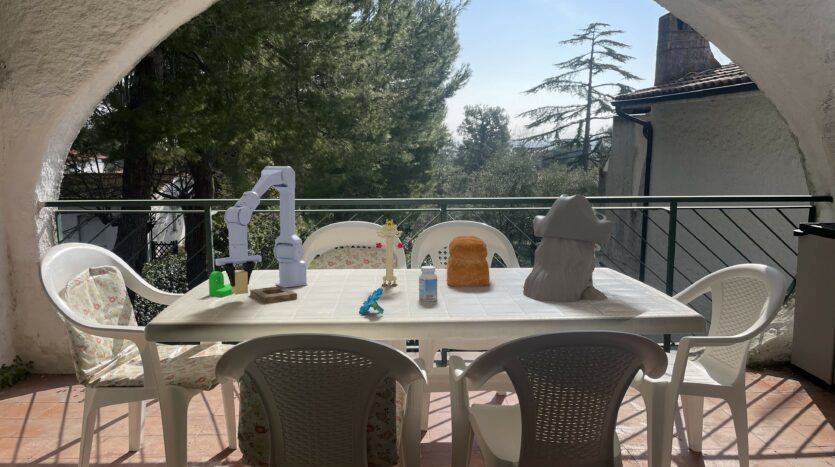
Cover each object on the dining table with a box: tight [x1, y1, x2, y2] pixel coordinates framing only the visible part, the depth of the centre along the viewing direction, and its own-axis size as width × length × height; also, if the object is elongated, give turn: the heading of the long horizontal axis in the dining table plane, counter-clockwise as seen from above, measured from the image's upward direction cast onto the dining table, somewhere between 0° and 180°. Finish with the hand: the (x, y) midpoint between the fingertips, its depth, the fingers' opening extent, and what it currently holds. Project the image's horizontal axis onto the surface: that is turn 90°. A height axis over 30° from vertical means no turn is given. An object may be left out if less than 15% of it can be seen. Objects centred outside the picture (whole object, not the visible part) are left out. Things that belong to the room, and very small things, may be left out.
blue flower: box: [358, 286, 385, 315], centre depth 180 cm, size 11×6×10 cm
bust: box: [522, 193, 615, 303], centre depth 204 cm, size 34×34×35 cm
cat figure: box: [375, 218, 404, 287], centre depth 220 cm, size 10×9×25 cm
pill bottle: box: [418, 265, 438, 302], centre depth 197 cm, size 6×6×11 cm
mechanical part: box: [208, 270, 234, 298], centre depth 207 cm, size 12×6×8 cm, turn 162°
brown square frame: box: [249, 285, 298, 304], centre depth 200 cm, size 11×14×2 cm
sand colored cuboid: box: [232, 269, 249, 296], centre depth 194 cm, size 4×4×7 cm
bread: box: [446, 235, 490, 288], centre depth 228 cm, size 16×26×17 cm, turn 178°
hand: (239, 285), depth 194 cm, fingers closed on sand colored cuboid, 4 cm apart
